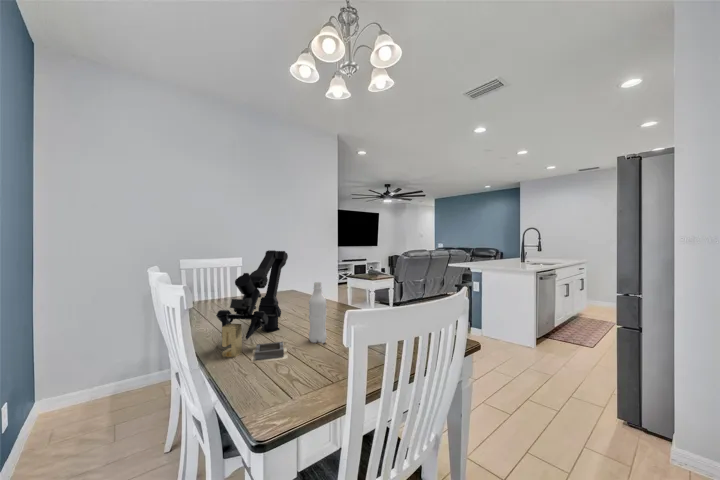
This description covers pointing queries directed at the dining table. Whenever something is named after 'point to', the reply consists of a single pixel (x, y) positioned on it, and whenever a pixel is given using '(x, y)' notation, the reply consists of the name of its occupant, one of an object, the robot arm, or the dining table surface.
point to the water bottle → (317, 315)
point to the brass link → (232, 340)
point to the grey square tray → (269, 352)
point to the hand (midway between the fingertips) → (234, 338)
